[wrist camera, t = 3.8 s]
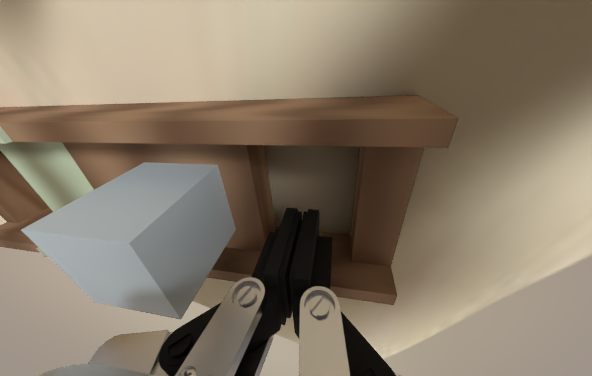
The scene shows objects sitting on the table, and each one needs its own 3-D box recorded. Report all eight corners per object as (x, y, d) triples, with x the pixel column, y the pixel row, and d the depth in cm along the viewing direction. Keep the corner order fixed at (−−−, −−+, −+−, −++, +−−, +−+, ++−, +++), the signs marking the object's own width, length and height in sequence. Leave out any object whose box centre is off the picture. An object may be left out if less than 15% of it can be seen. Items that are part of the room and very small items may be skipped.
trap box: (417, 95, 10) (462, 120, 7) (382, 247, 16) (394, 310, 12) (-49, 108, 17) (-167, 125, 13) (44, 213, 23) (-18, 247, 19)
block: (217, 164, 12) (128, 243, 7) (236, 229, 15) (180, 319, 10) (144, 162, 13) (20, 229, 8) (174, 223, 16) (95, 302, 11)
